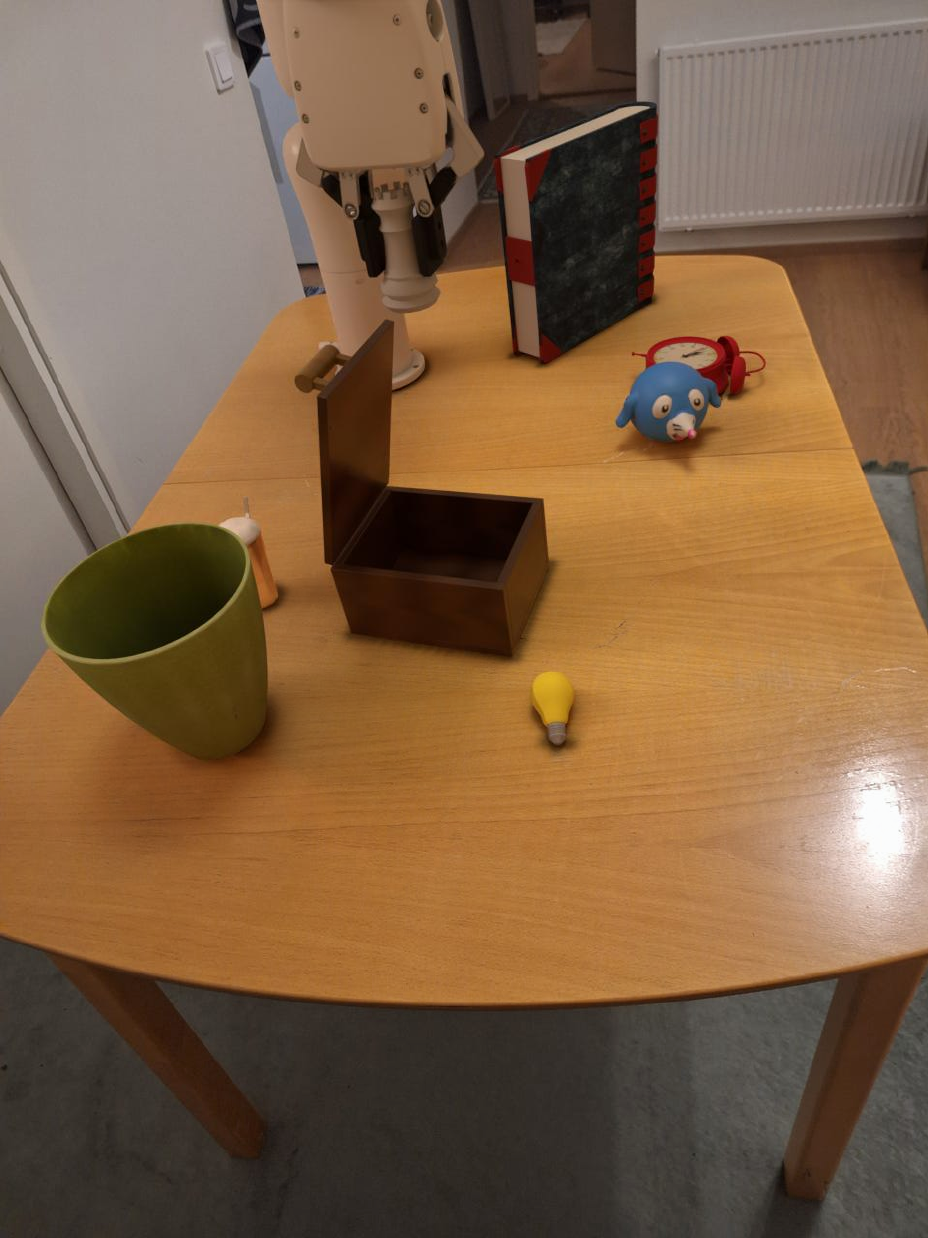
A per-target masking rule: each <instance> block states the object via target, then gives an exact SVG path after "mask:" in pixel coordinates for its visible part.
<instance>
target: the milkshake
mask: <svg viewBox="0 0 928 1238" xmlns="http://www.w3.org/2000/svg"><path fill="white" fill-rule="evenodd" d="M242 498H243V499H242V500H243V508H244V516H233V517H230V518H228V519H226V520H224V521H222V522H220V523H219V524H218V526H221V527H223V528H226V529H228V530H230V531H232V532H234V533H235V534H236V535H238V536H239V537H240V538H241V539H242V540H243V542H244V543H245V545H246V546H247V549H248V551H249V555H250V559H251V563H252V567H253V571H254V575H255V579H256V584H257V589H258V593H259V598H260V603H261V608H262V609H265V608H267V607H269V606H271V605H273V604H274V603H275V602H276V600H277V599H278V597H279V595H278V594H279V593H278V589H277V585H276V582H275V578H274V576H273V572H272V568H271V565H270V561H269V557H268V555H267V549H266V545H265V542H264V538H263V534H262V530H261V527H260V526H261V525H260V524H259V522H258V521H257V520H255V519H253V518H251V517H250V508H249V499H248V497H247V496H243V497H242Z"/></svg>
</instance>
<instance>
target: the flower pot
mask: <svg viewBox="0 0 928 1238" xmlns="http://www.w3.org/2000/svg"><path fill="white" fill-rule="evenodd" d="M218 525H219V524H218ZM218 525H217V524H213V523H208V522H199V521H182V522H172V523H165V524H160V525H156V526H151V527H148V528H144V529H141V530H138V531H134V532H132V533H130V534H126V535H125V536H122V537H120V538H118V539H115V540H114V541H111V542H110V543H107V544H106V545H104V546H102V547H100V548H99V549H97V550H95V551H94V552H92V553H91V554H89V555H88V556H86V557H85V558H84V559H82V560H81V561H79V562H78V563H77V564H76V565H75V566H73V568H71V569H70V570H68V572H67V573H66V574H65V575H64V576H63V577H62V578H61V579H60V580H59V582H58V583H57V584H56V585H55V586H54V588H53V590H52V591H51V592H50V594H49V596H48V598H47V600H46V602H45V605H44V608H43V612H42V616H41V621H40V622H41V624H40V626H41V627H40V628H41V633H42V637H43V640H44V641H45V643H46V645H47V646H48V647H49V648H50V649H51V650H52V652H54V653H55V655H56V656H57V657H59V658H60V660H62V662H63V663H64V664H66V666H67V667H69V669H71V671H72V672H74V674H75V675H77V677H79V679H81V680H82V681H83V682H84V683H85V684H86V685H87V686H88V687H90V689H92V690H93V691H94V692H95V693H96V694H97V695H99V696H100V697H101V698H102V699H103V700H105V702H107V703H108V705H110V706H112V707H113V708H114V709H116V710H117V711H118V712H119V713H121V714H122V715H124V716H125V717H126V718H127V719H129V720H130V721H131V722H133V723H135V724H136V725H137V726H139V727H141V729H143V730H145V731H147V732H148V733H149V734H150V735H152V736H154V737H156V738H157V739H159V740H160V741H162V742H164V743H166V744H167V745H169V746H171V747H173V748H175V749H177V750H178V751H180V752H182V753H184V754H186V755H188V756H190V757H192V758H194V759H197V760H200V761H201V760H202V761H217V760H223V759H226V758H229V757H232V756H234V755H236V754H238V753H239V752H241V751H243V750H244V749H246V748H248V746H250V745H251V744H252V743H253V742H254V741H255V740H256V739H257V738H258V736H259V735H260V734H261V732H262V730H263V728H264V725H265V723H266V718H267V709H268V686H269V685H268V684H269V679H268V678H269V675H268V674H269V673H268V670H269V669H268V649H267V639H266V638H267V637H266V629H265V622H264V621H265V620H264V615H263V608H261V603H260V598H259V593H258V589H257V584H256V579H255V575H254V571H253V567H252V563H251V559H250V555H249V551H248V549H247V546H246V545H245V543H244V542H243V540H242V539H241V538H240V537H239V536H238V535H236V534H235V533H234V532H232V531H230V530H228V529H226V528H223V527H221V526H218Z"/></svg>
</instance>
